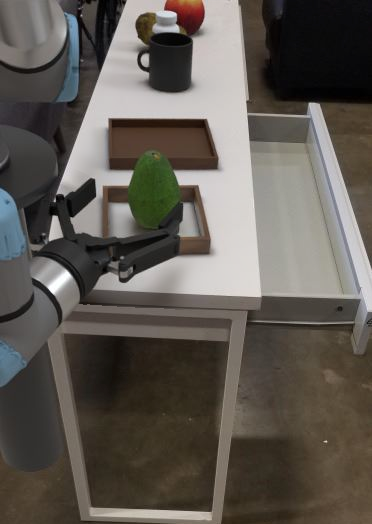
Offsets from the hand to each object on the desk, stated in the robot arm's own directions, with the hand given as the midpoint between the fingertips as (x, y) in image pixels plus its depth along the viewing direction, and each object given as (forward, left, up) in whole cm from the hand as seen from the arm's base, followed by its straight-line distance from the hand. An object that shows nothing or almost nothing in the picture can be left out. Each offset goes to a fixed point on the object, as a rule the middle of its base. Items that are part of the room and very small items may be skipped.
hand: (136, 198), depth 81 cm
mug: (+9, +62, -8) cm, 63 cm away
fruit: (+17, +98, -8) cm, 100 cm away
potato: (+10, +84, -8) cm, 85 cm away
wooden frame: (+3, +5, -8) cm, 10 cm away
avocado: (+3, +5, -8) cm, 10 cm away
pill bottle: (+10, +72, -8) cm, 73 cm away
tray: (+6, +31, -8) cm, 33 cm away
